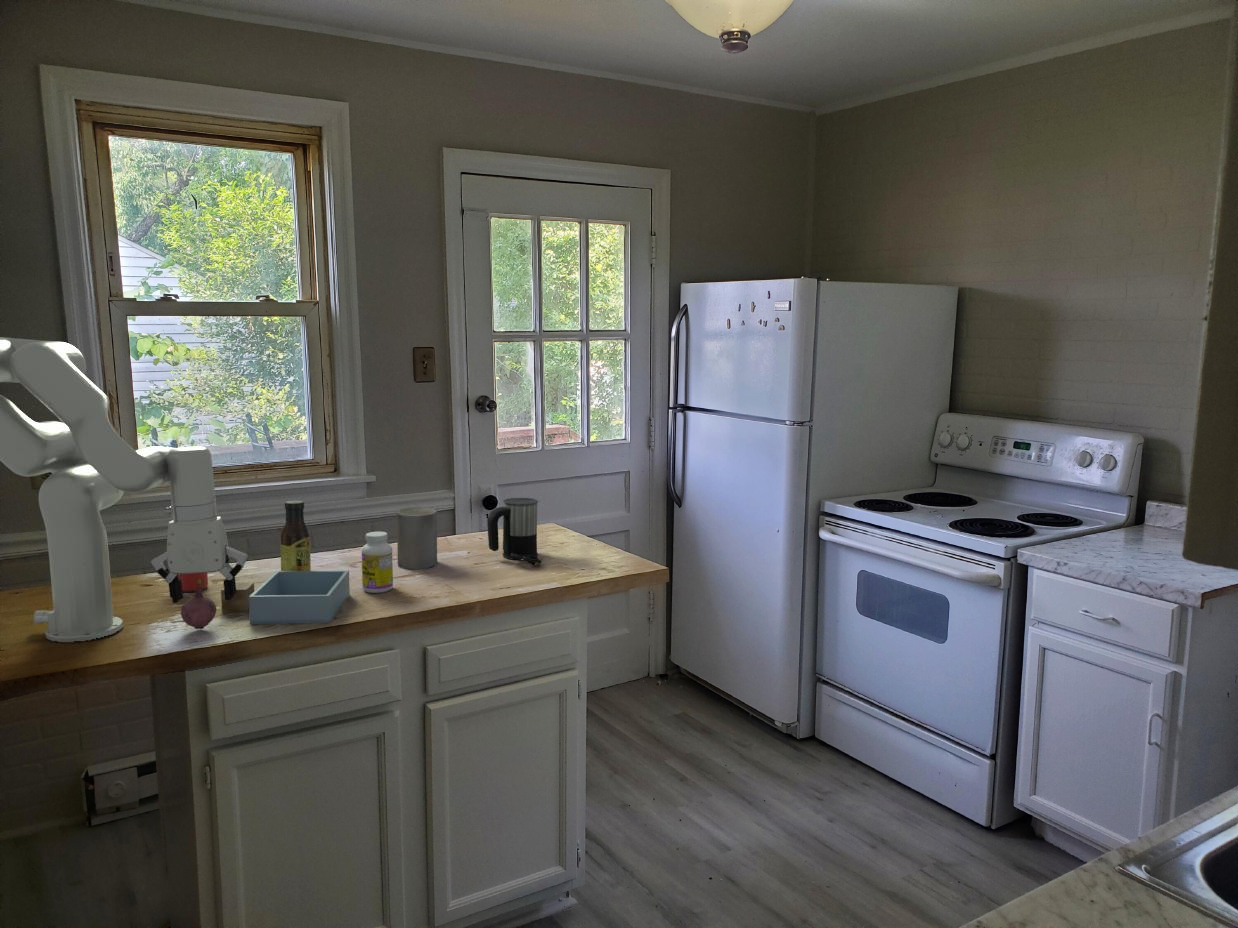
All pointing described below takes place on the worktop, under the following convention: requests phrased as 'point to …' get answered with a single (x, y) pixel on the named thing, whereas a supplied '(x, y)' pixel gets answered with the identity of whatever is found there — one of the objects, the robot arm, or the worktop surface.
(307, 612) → the tote
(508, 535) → the milk frother
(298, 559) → the sauce bottle
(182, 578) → the beer can
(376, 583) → the supplement bottle
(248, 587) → the walnut cube
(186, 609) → the vegetable
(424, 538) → the pillar candle
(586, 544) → the worktop surface
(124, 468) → the robot arm
